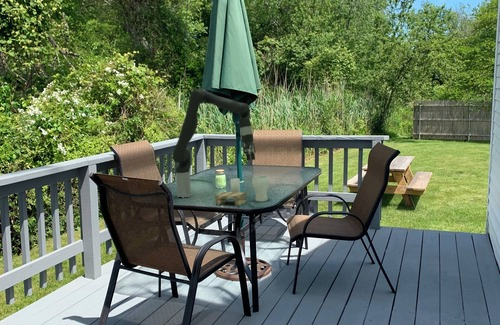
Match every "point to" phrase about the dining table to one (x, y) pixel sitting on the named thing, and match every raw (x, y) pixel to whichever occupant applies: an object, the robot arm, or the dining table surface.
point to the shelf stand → (231, 197)
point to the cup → (261, 187)
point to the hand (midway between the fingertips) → (251, 160)
